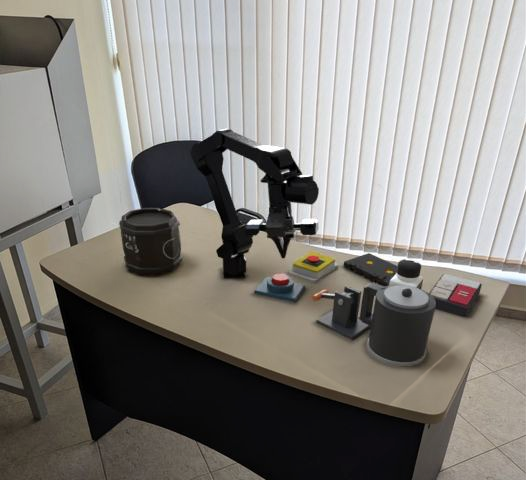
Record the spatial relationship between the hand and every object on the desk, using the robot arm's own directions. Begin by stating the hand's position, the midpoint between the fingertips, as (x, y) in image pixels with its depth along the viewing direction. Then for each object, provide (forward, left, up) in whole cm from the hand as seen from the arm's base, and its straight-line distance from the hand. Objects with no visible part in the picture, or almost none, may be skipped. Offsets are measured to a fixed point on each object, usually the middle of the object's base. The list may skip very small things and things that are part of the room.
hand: (283, 258), depth 134 cm
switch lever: (+11, -16, -5) cm, 20 cm away
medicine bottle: (+33, -8, -11) cm, 35 cm away
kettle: (+21, -29, -11) cm, 37 cm away
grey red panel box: (+47, -9, -11) cm, 49 cm away
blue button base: (0, +1, -11) cm, 11 cm away
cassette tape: (+32, +10, -11) cm, 35 cm away
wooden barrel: (-36, +23, -11) cm, 45 cm away
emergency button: (+13, +14, -11) cm, 22 cm away
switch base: (+13, -18, -11) cm, 25 cm away
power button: (0, +1, -8) cm, 8 cm away
